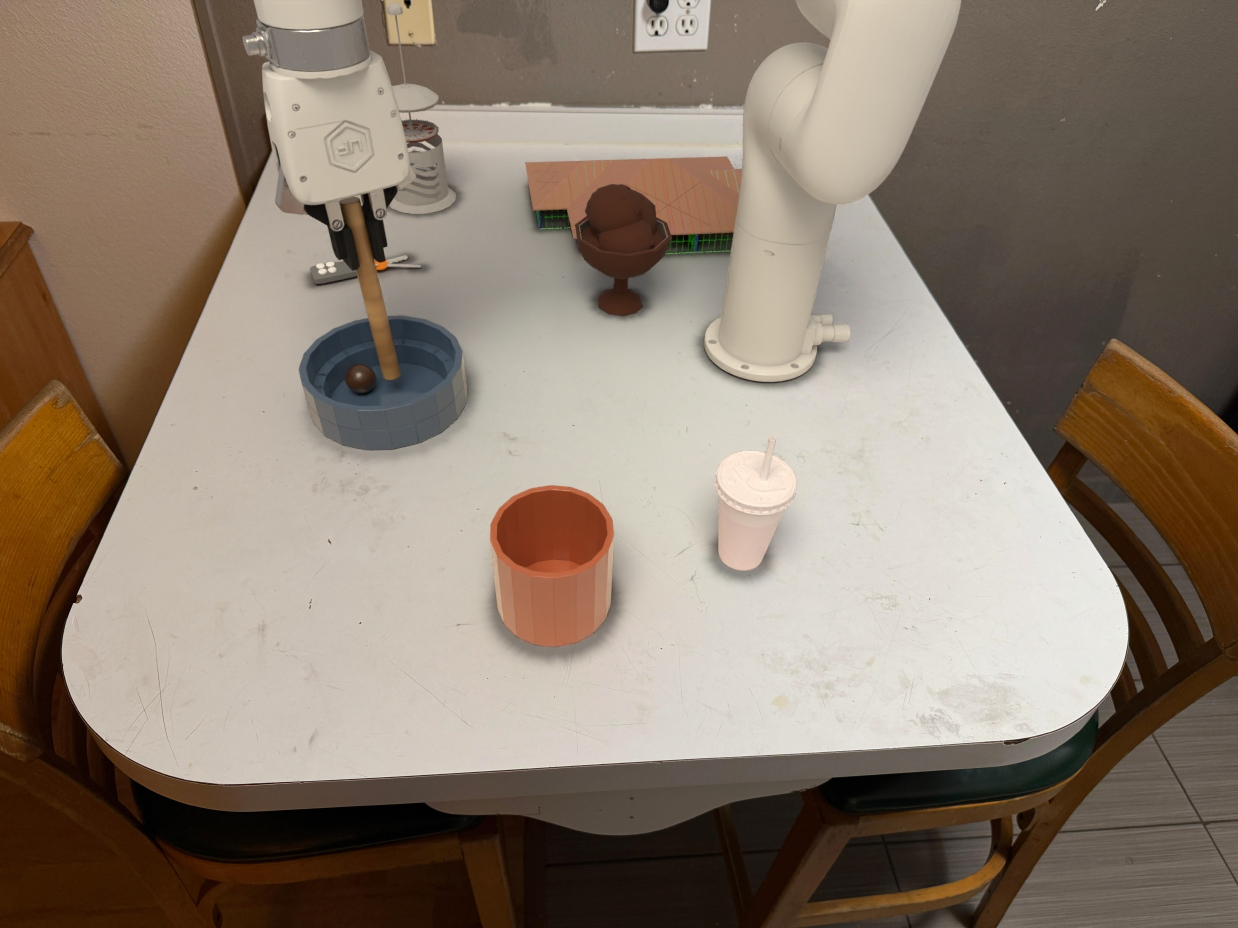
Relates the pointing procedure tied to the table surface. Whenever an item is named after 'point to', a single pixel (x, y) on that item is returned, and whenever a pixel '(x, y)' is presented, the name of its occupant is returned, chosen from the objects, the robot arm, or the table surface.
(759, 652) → the table surface
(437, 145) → the french press
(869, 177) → the robot arm
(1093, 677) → the table surface
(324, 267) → the key chain
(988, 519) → the table surface
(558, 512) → the utensil pot
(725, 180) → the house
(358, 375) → the bead
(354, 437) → the mixing bowl
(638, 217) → the ice cream bowl
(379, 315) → the stirring stick
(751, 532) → the smoothie
